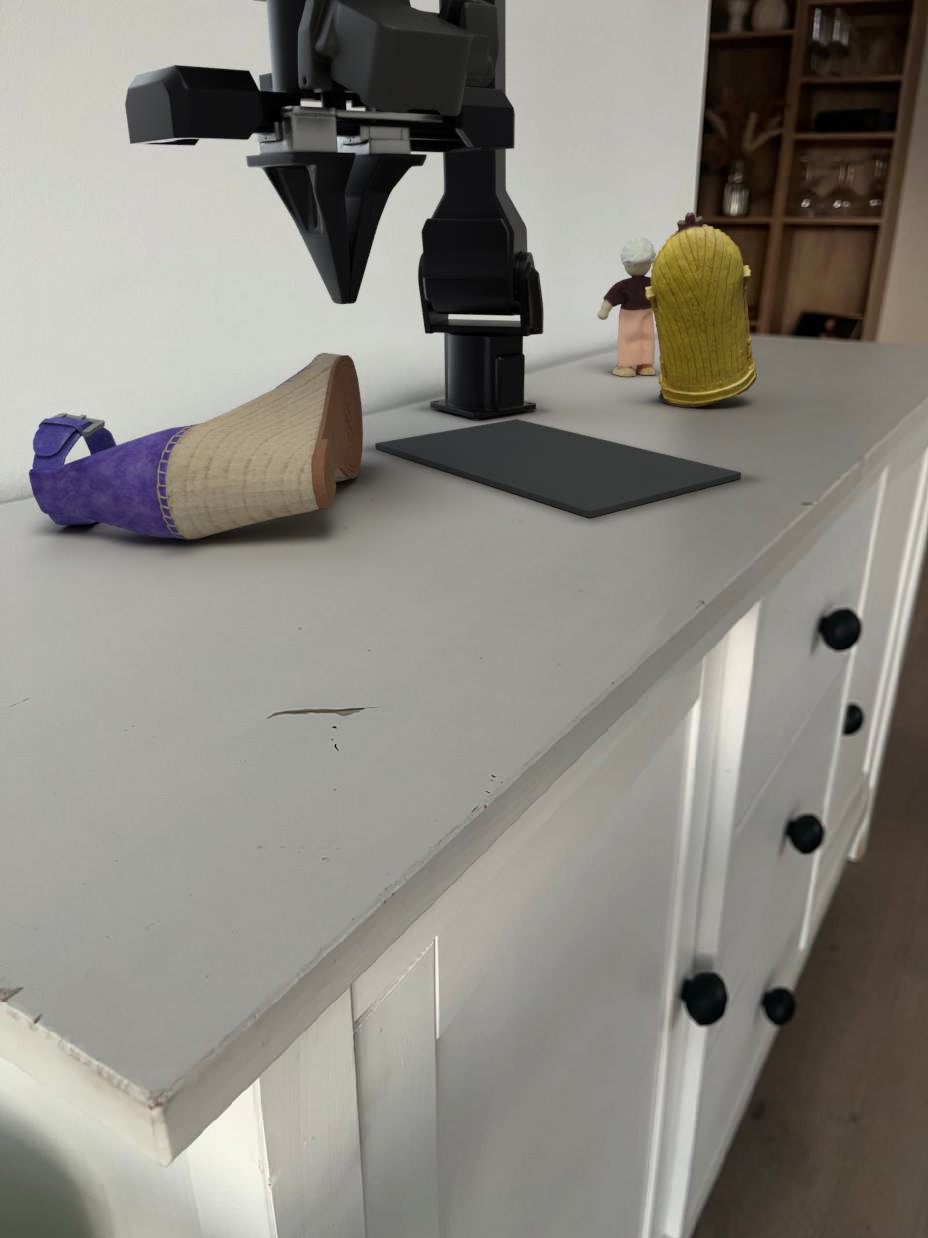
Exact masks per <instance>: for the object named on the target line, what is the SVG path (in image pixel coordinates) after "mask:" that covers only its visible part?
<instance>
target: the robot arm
mask: <svg viewBox="0 0 928 1238" xmlns="http://www.w3.org/2000/svg"><path fill="white" fill-rule="evenodd" d="M252 1H254V2H261V3H265V6H266V7H265V8H266V18H267V33H268V44H269V60H270V71H271V72H270V73H264V74H259V75H258V80H259V81H258V82H259V86H258V85H257V82H256V81H255V79H254V77H253V75H252V73H251V71H250V70H248V69H234V68H221V67H220V68H219V67H208V66H195V65H194V66H193V65H183V64H182V65H179V64H173V65H170V66H166V67H162V68H159V69H155V70H151V71H147V72H144V73H143V72H142V73H140V74H136V75H135V76H134V78H133V79H132V81H131V83H130V84H129V86H128V87H127V90H126V97H125V101H124V107H125V114H126V123H127V130H128V138H129V144H130V145H136V146H138V145H139V146H175V147H194V146H196V145H197V144H198V143H199V141H200V140H218V141H219V140H220V141H221V140H223V141H248V140H250V138H251V137H252V136H253V135H256V140H257V144H258V145H257V147H258V154H252V155H245V161H246V166H247V167H248V168H259V169H261V170H262V171H263V172H264V174H265V176H266V177H267V179H268V181H269V182H270V184H271V186H272V187H273V189H274V190H275V192H276V194H277V195H278V197H279V199H280V200H281V202H282V204H283V206H284V207H285V209H286V210H287V212H288V213H289V216H290V217H291V219H292V221H293V223H294V224H295V226H296V228H297V231H298V233H299V234H300V236H301V239H302V240H303V242H304V245H305V248H306V249H307V251H308V253H309V255H310V257H311V260H312V261H313V263H314V266H315V268H316V270H317V273H318V274H319V276H320V278H321V281H322V282H323V284H324V286H325V289H326V291H327V292H328V295H329V297H330V299H331V301H332V302H333V304H336V305H352V304H355V303H356V302H357V300H358V296H359V293H360V291H361V287H362V282H363V279H364V276H365V273H366V269H367V266H368V261H369V258H370V255H371V251H372V247H373V244H374V241H375V237H376V233H377V230H378V227H379V224H380V221H381V218H382V215H383V213H384V211H385V208H386V206H387V203H388V200H389V198H390V196H391V194H392V192H393V190H394V188H395V187H396V186H397V185H398V183H399V182H400V181H401V180H402V179H403V177H405V175H406V174H407V172H408V171H409V170H410V169H411V168H414V167H417V168H418V167H423V166H424V164H425V162H426V160H427V157H428V154H425V153H439V154H440V153H442V159H443V160H442V161H443V162H442V163H443V164H442V165H443V193H442V196H441V198H440V200H439V202H438V203H437V205H436V207H435V210H434V211H433V213H432V215H431V217H429V218H426V219H425V221H424V223H423V226H422V229H421V242H422V243H421V244H422V252H421V255H420V256H419V257H420V258H419V262H418V267H417V269H418V270H417V283H418V290H419V291H418V292H419V298H420V308H421V313H422V314H421V315H422V321H423V328H424V333H425V335H427V334H428V335H429V334H430V335H432V334H436V333H437V334H443V339H444V341H443V350H444V398H443V399H437V400H432V401H429V405H430V406H429V407H430V408H431V409H434V410H435V409H436V410H439V411H444V412H448V413H451V414H455V415H459V416H464V417H468V418H471V419H485V418H491V417H497V416H502V415H503V416H504V415H509V414H514V413H520V412H527V411H533V410H536V409H537V402H533V401H528V400H525V377H526V376H525V372H526V370H525V369H526V355H525V354H524V337H530V336H535V335H543V334H544V318H545V317H544V301H543V300H544V299H543V293H542V292H543V291H542V284H541V276H540V272H539V271H538V270H537V269H536V265H535V260H534V256H533V254H532V252H530V251H528V228H527V225H526V223H525V222H524V220H523V218H522V216H521V215H520V213H519V211H518V209H517V207H516V206H515V204H514V202H513V200H512V199H511V197H510V194H509V193H508V191H507V150H514V149H515V145H516V144H515V141H516V140H515V139H516V137H515V134H516V133H515V132H516V128H515V127H516V112H515V108H514V105H513V104H512V103H511V101H510V99H509V98H508V96H507V92H506V90H507V89H506V87H507V86H506V84H507V83H506V81H507V78H506V77H507V74H506V68H507V66H506V65H507V64H506V63H507V61H506V60H507V59H506V55H507V53H506V51H507V48H506V46H507V45H506V33H507V32H506V30H507V29H506V27H507V26H506V24H507V23H506V21H507V20H506V11H507V10H506V5H507V4H506V2H507V1H506V0H438V11H439V12H434V11H427V10H420V9H417V8H416V7H413V6H412V5H411V0H252ZM302 102H308V103H309V102H311V103H320V106H307V105H306V106H304V105H302V104H301V103H302ZM347 104H350V108H351V109H352V110H351V109H347ZM353 109H354V110H353ZM355 109H364V110H355ZM449 315H461V316H463V315H464V316H501V317H504V316H507V317H514V316H519V320H508V319H507V320H506V319H470V318H469V319H467V318H466V319H465V318H460V319H459V318H450V317H449Z"/></svg>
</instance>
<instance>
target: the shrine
mask: <svg viewBox="0 0 928 1238" xmlns="http://www.w3.org/2000/svg"><path fill="white" fill-rule="evenodd" d="M704 220H705V218H704V216H702V215H700V216H699V215H698V216H696V215H695V213H694V212H693V211H691V212H687V213H685V216H684V219H679V220H678V221H677V222H676V225H677V230H676V231H675V232H674V233H671V235H670V236H669V238H666V239H665V243H664V244H663V245H662V246H661V249H659V250H658V252H657V254H656V256H655V262H653V263H652V264H651V267H652V268H650V272H651V274H650V277H651V278H650V279H651V286H649V287H645V289H646V294H645V297H646V299H647V300H649V301H651V306H652V307H651V308H652V310H653V318H654V323H655V329H656V334H657V341H658V350H659V357H658V360H659V363H660V364H659V367H660V368H659V369H660V372H661V373H660V374H659V376H658V384H659V385H660V390H659V395H658V397H659V398H658V399H659V400H660V401H661V402H662V403H665V404H667V405H671V406H676V407H679V408H698V407H703V406H709V405H713V404H716V403H717V402H720V401H721V400H723V399H728V398H731V397H734V396H739V395H741V394H743V393H745V392H748V391H749V389H750V388H751V387H752V386H753V385H754V384H755V382H756V380H757V370H756V363H755V358H754V356H753V348H752V345H751V343H752V336H751V335H750V334H751V332H750V329H751V328H750V327H751V326H750V320H749V319H750V317H749V308H748V307H749V306H748V297H747V294H748V293H747V292H748V291H747V290H748V282H749V281H750V278H751V275H752V270H751V268H750V266H749V265H744V262H743V260H744V259H743V256H742V253H741V251H740V248H739V246H738V245H737V244H736V243H735V242H734V241H733V240H732V239H731V237H730V236H729V235H727V234H726V233H725V231H722V230H721V229H719V228H716V229H715V228H714V226H712V225H711V226H710V225H708V224H704Z"/></svg>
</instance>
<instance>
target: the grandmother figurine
mask: <svg viewBox="0 0 928 1238" xmlns="http://www.w3.org/2000/svg"><path fill="white" fill-rule="evenodd" d="M656 256H657V252H656V250H655V248H654V244H653V243H652V242H651V240H649V239H648V238H645V237H636V238H633V239H630V241H628V242H626V243H625V245H623V247H622V250H621V252H620V261H621V263H622V265H623V267H624V270H625V272H626V273H627V275H629V276H630V277H628V278H623V279H621V280H619V281H617V282H616V283H614V284H613V285H612V286H611V287H610V288H609V290H608V291H607V292H606V294H605V295H604V296H603V299H602V300H603V301H602V303H601V305H600V309H599V310H598V311H597V318H598V319H599V320H600V321H606V320H607V319H608V318H609V315H610V314H609V313H610V312H611V311H612V309H613V308H614V307H617V306H620V307H619V312H618V329H617V330H618V331H617V343H616V344H617V348H616V350H617V351H616V352H617V353H616V355H617V356H616V357H617V358H616V359H617V360H616V361H617V366H615V368H613V371H612V375H614V376H619V377H625V378H626V377H628V378H629V377H635V376H637V374H638V375H640V376H641V375H642V376H655V375H656V374H657V372H656V368H655V367H654V365H653V364H655V354H656V353H655V352H656V338H655V337H656V335H655V319H654V313H653V310H652V308H651V307H652V306H651V301H649V300H647V299H646V297H645V294H646V289H645V287H649V286H651V279H650V278H651V276H647V274H648V273H649V272H650V271H651V269H652V268H651V267H652V264H653V262H655V257H656ZM633 367H636V368H635V369H634V368H633Z"/></svg>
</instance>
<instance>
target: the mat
mask: <svg viewBox="0 0 928 1238" xmlns="http://www.w3.org/2000/svg"><path fill="white" fill-rule="evenodd" d="M374 443H375V442H374ZM374 447H375V449H376V450H379V451H381V452H385V453H388V454H391V455H394V456H397V457H400V458H404V459H407V460H410V461H413V462H416V463H419V464H421V465H426V466H428V467H432V468H435V469H436V470H437V469H438V470H441V471H444V472H447V473H450V474H453V475H456V476H459V477H462V478H465V479H469V480H471V481H474V482H476V483H477V482H478V483H481V484H484V485H487V486H490V487H493V488H496V489H500V490H503V491H506V492H508V493H512V494H515V495H518V496H520V497H524V498H527V499H529V500H533V501H537V502H539V503H542V504H545V505H549V506H551V507H555V508H558V509H561V510H564V511H567V512H570V513H573V514H576V515H579V516H583V517H585V518H589V519H591V518H595V517H598V516H602V515H607V514H610V513H611V514H612V513H614V512H618V511H622V510H626V509H629V508H633V507H637V506H641V505H644V504H648V503H653V502H656V501H660V500H664V499H667V498H672V497H675V496H679V495H683V494H687V493H691V492H695V491H699V490H702V489H706V488H709V487H713V486H718V485H720V484H725V483H729V482H734V481H738V480H740V479H741V478H742V472H740V471H737V470H732V469H728V468H725V467H724V468H723V467H719V466H716V465H711V464H707V463H703V462H699V461H694V460H691V459H686V458H683V457H679V456H673V455H670V454H665V453H662V452H657V451H653V450H648V449H644V448H640V447H637V446H631V445H627V444H623V443H619V442H614V441H610V440H606V439H602V438H598V437H594V436H590V435H585V434H581V433H578V432H574V431H568V430H565V429H559V428H557V427H556V428H555V427H551V426H548V425H544V424H539V423H536V422H530V421H526V420H523V419H518V418H515V419H509V420H503V421H497V422H491V423H486V424H479V425H474V426H468V427H462V428H457V429H451V430H444V431H438V432H432V433H427V434H426V433H425V434H422V435H416V436H410V437H403V438H398V439H397V438H396V439H391V440H386V441H380V442H376V443H375V444H374Z"/></svg>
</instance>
